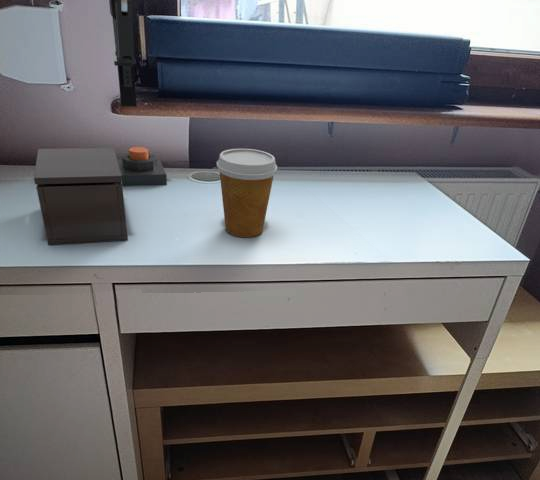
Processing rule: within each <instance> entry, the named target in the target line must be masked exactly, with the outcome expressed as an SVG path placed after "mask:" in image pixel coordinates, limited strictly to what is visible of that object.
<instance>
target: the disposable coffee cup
mask: <svg viewBox="0 0 540 480" xmlns="http://www.w3.org/2000/svg"><path fill="white" fill-rule="evenodd" d="M218 156H219V157H218V160H216V167H217V169H218V172H219V179H220V188H221V189H220V190H221V197H222V208H223V217H224V218H223V219H224V227H225V232H226V233H228V234H229V235H232V236H234V237H239V238H254V237H257V236H260V235H262V233H263V232H264V225H265V221H266V215H267V210H268V207H269V200H270V196H271V192H272V186H273V185H272V184H273V182H274V176H275V175H276V172H277V170H278V165H277V164H276V158H275V156H274V155H272V154H271V153H269V152H266V151H263V150H259V149H253V148H229V149H226V150H223V151H221V152H220V154H219V155H218Z"/></svg>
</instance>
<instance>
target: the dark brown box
mask: <svg viewBox="0 0 540 480" xmlns="http://www.w3.org/2000/svg"><path fill="white" fill-rule="evenodd" d="M35 186H36V187H35V188H36V192H37V193H36V194H37V199H38V202H39V207H40V212H41V217H42V222H43V226H44V230H45V237H46V241H47V245H48V246H55V245H58V246H59V245H73V244H88V243H89V244H90V243H104V242H121V241H124V242H125V241H129V237H128V228H127V227H128V226H127V217H126V208H125V207H126V206H125V200H124V199H125V198H124V197H125V196H124V189H123V187H124V186H122V182H106V183H71V184H35Z"/></svg>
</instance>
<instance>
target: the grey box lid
mask: <svg viewBox="0 0 540 480" xmlns="http://www.w3.org/2000/svg"><path fill="white" fill-rule="evenodd" d="M36 155H37V156H36V162H35V167H34V174H33V181H34V185H37V184H71V183H106V182H122V176H121V172H120V169H119V165H118V161H117V159H118V158H117V154H116V151H115V148H114V147H86V148H85V147H77V148H76V147H75V148H72V147H71V148H68V147H67V148H38V149H37V154H36Z"/></svg>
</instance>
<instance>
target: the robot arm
mask: <svg viewBox="0 0 540 480" xmlns="http://www.w3.org/2000/svg"><path fill="white" fill-rule="evenodd" d="M133 1H134V0H108V2H109V13H110V15H111V17H112V18H111V19H112V26H113V37H114V47H115V52H114V55H115V58H116V60H114V61H113V63H114V64H113V65H114V66H117V76H118V87H119V97H120V98H119V100H120V106H121V107H137V106H138V105H137V104H138V103H137V90H136V76H135V66H134V65H136V64H137V60H136V58H135V44H134V24H133V23H134V21H133V20H134V2H133Z"/></svg>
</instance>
